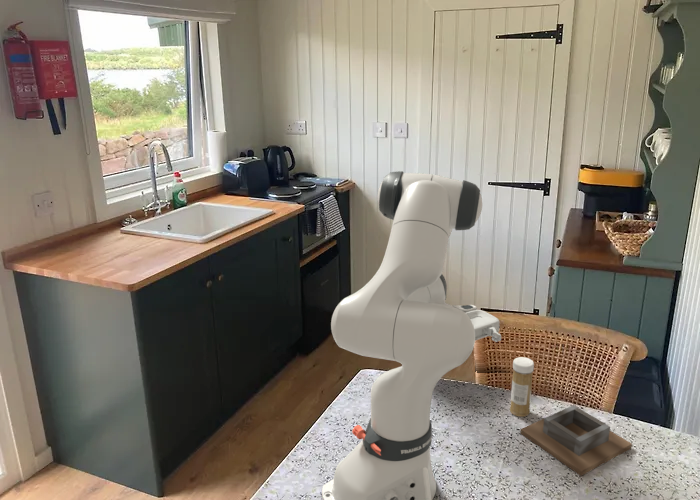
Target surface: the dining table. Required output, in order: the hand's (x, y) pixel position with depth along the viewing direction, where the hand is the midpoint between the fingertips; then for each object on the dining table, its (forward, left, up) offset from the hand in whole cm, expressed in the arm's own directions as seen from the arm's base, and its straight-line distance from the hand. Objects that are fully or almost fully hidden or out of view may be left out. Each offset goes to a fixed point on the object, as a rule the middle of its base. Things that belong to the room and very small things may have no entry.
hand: (485, 343), depth 141 cm
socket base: (+2, -27, -12) cm, 29 cm away
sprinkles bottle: (0, -13, -12) cm, 18 cm away
